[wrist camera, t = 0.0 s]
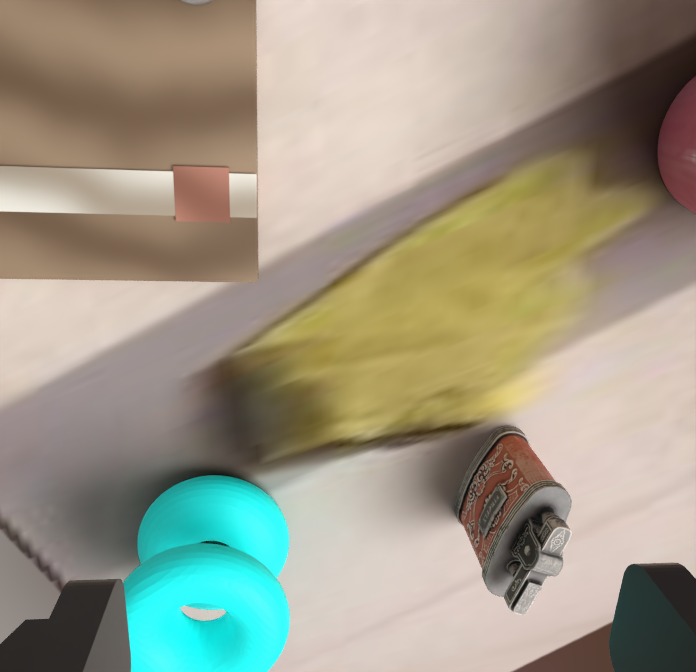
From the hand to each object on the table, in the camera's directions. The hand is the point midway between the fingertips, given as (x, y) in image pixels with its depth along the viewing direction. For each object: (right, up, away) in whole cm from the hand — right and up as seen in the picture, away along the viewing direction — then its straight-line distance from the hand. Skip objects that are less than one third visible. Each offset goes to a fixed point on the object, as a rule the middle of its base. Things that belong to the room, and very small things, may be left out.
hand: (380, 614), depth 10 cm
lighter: (+9, -5, +34) cm, 36 cm away
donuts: (-10, -9, +34) cm, 36 cm away
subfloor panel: (-14, +17, +24) cm, 33 cm away
